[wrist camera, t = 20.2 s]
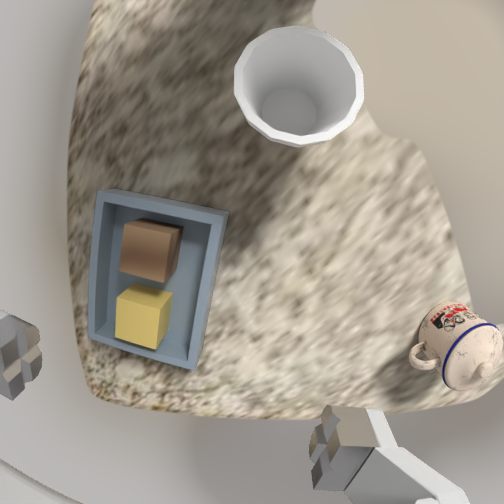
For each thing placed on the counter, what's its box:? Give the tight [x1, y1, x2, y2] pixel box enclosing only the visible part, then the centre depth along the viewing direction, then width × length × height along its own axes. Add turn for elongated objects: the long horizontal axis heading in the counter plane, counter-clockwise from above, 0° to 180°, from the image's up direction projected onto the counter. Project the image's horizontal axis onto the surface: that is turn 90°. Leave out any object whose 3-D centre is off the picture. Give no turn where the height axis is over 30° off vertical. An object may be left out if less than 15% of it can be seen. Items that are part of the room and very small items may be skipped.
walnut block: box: [119, 217, 184, 283], centre depth 33 cm, size 5×5×5 cm
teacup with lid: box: [409, 301, 503, 391], centre depth 32 cm, size 12×9×12 cm
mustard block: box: [115, 283, 173, 349], centre depth 35 cm, size 5×5×5 cm
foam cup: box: [234, 25, 364, 148], centre depth 27 cm, size 10×9×13 cm
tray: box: [88, 189, 229, 371], centre depth 36 cm, size 18×14×4 cm
